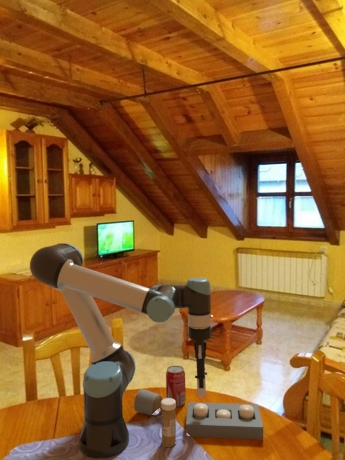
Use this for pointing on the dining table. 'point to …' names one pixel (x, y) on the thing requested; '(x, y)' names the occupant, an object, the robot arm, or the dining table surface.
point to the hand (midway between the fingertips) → (201, 395)
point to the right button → (246, 412)
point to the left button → (201, 410)
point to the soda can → (176, 384)
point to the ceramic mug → (147, 402)
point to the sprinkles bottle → (168, 422)
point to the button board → (224, 423)
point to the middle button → (223, 414)
